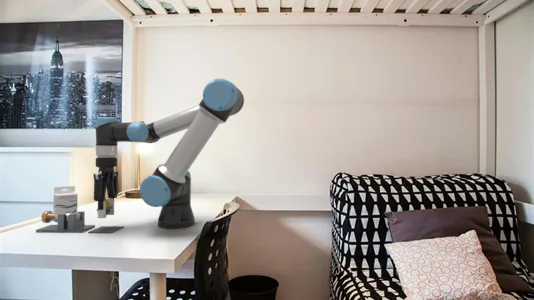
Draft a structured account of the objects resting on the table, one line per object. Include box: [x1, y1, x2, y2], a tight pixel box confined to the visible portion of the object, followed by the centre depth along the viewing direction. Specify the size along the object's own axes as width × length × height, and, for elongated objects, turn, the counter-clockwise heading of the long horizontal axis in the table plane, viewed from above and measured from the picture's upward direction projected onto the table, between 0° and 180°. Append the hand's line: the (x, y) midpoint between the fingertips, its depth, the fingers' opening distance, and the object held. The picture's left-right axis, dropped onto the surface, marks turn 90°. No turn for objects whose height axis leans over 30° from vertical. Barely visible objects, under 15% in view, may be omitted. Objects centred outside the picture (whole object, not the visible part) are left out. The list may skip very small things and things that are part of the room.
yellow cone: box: [96, 197, 112, 216], centre depth 119 cm, size 5×5×10 cm
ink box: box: [53, 185, 78, 223], centre depth 138 cm, size 8×5×15 cm, turn 134°
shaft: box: [41, 210, 81, 224], centre depth 120 cm, size 13×5×5 cm, turn 88°
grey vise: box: [35, 210, 96, 234], centre depth 120 cm, size 18×8×7 cm, turn 88°
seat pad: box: [88, 225, 124, 234], centre depth 119 cm, size 9×9×1 cm
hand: (106, 216), depth 119 cm, fingers closed on yellow cone, 5 cm apart
